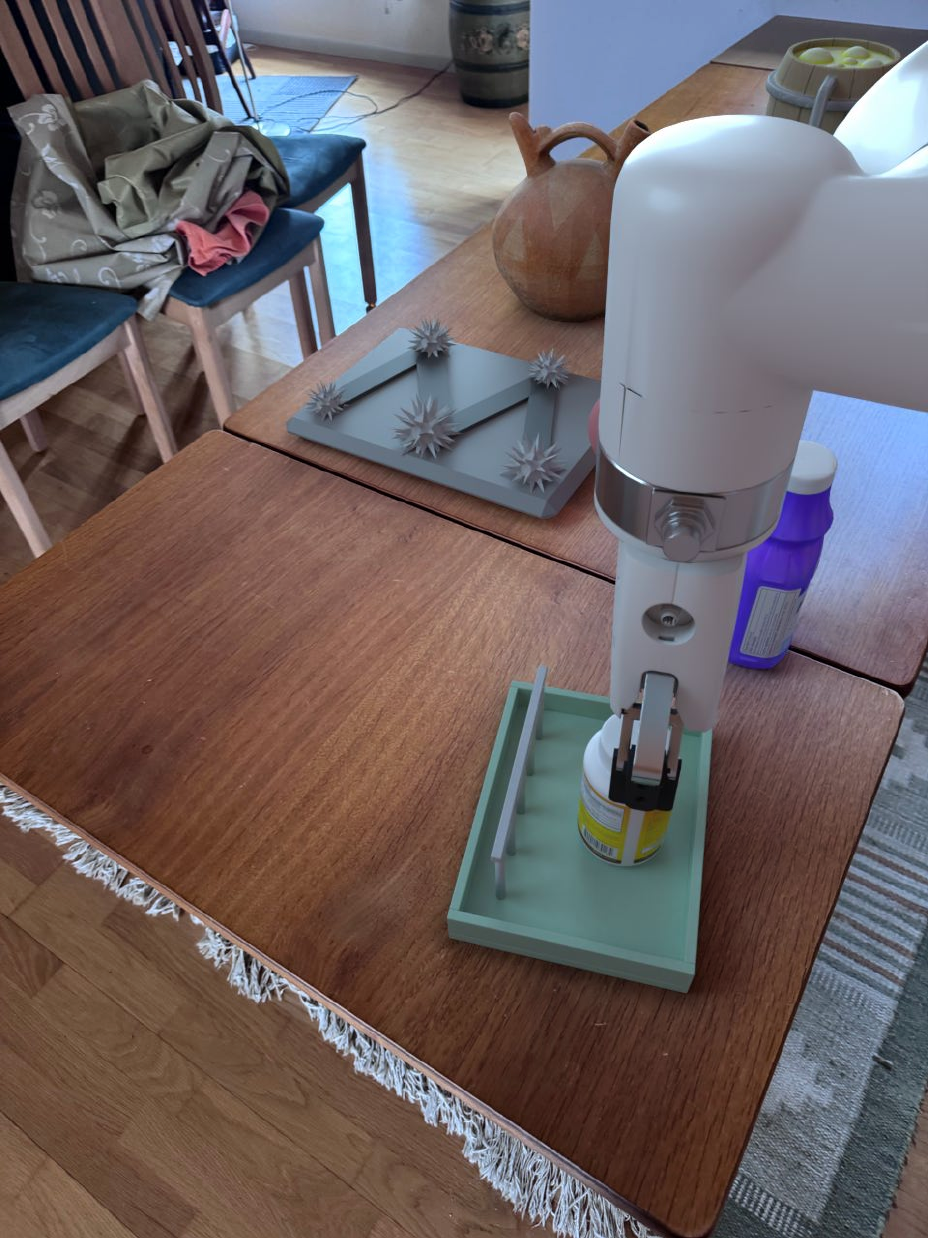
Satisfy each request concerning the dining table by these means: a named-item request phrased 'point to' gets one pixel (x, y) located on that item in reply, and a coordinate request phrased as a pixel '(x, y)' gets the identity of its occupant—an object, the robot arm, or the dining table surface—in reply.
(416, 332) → the decorative plate
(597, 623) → the dining table surface
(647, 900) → the dish rack
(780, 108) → the mug
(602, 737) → the supplement bottle
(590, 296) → the jug
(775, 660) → the bottle
